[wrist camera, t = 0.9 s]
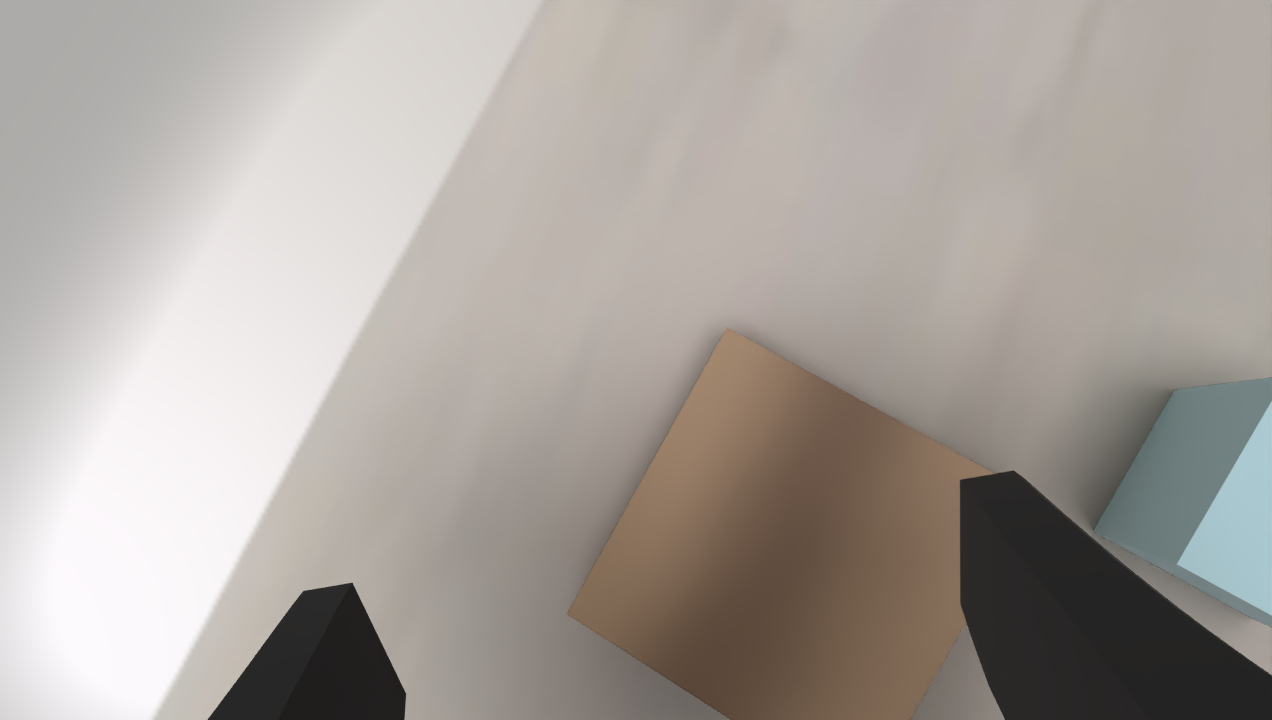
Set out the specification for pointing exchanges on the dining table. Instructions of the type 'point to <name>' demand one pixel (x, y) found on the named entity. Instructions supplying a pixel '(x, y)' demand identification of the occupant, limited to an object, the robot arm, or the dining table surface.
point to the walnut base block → (786, 550)
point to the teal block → (1205, 495)
